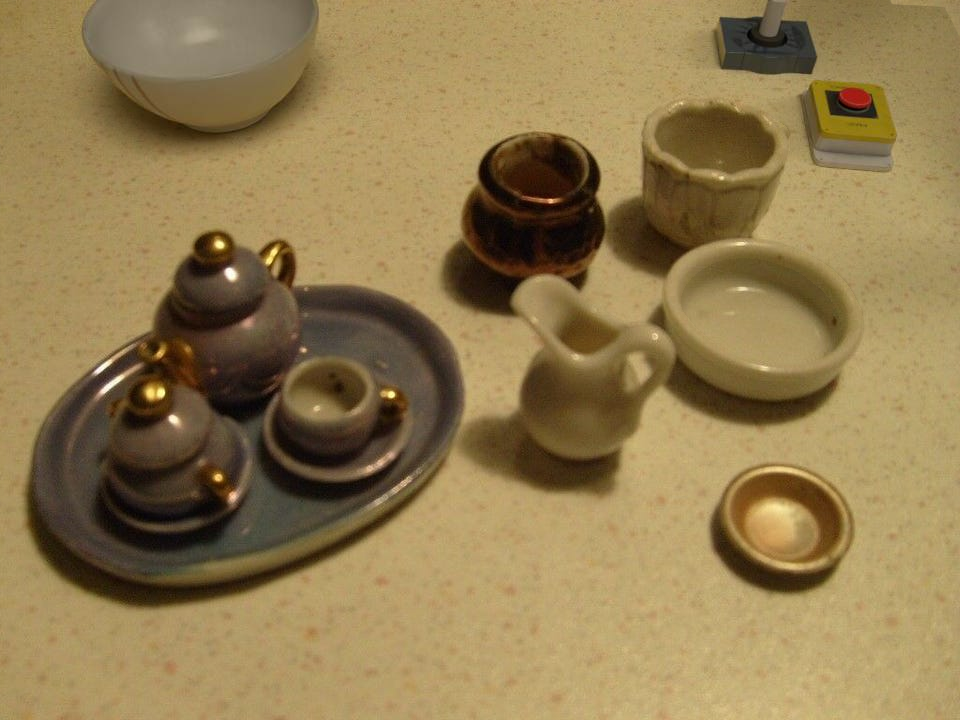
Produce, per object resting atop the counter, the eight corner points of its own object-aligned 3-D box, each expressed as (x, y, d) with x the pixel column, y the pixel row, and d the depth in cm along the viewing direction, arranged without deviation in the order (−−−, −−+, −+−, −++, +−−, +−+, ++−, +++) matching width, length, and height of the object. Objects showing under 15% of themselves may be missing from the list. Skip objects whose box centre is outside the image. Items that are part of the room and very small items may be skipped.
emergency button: (885, 69, 108) (908, 142, 98) (872, 99, 111) (893, 172, 102) (810, 63, 108) (825, 135, 99) (799, 93, 112) (813, 165, 102)
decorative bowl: (89, 171, 100) (51, 79, 90) (141, 46, 117) (113, -43, 107) (320, 170, 100) (306, 79, 91) (338, 46, 117) (327, -42, 108)
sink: (800, 35, 121) (806, 18, 119) (812, 76, 114) (818, 59, 112) (714, 30, 121) (718, 14, 119) (721, 71, 115) (726, 54, 113)
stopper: (784, 54, 118) (802, -2, 111) (763, 65, 116) (780, 9, 110) (759, 40, 120) (776, -15, 113) (739, 51, 118) (754, -5, 112)
